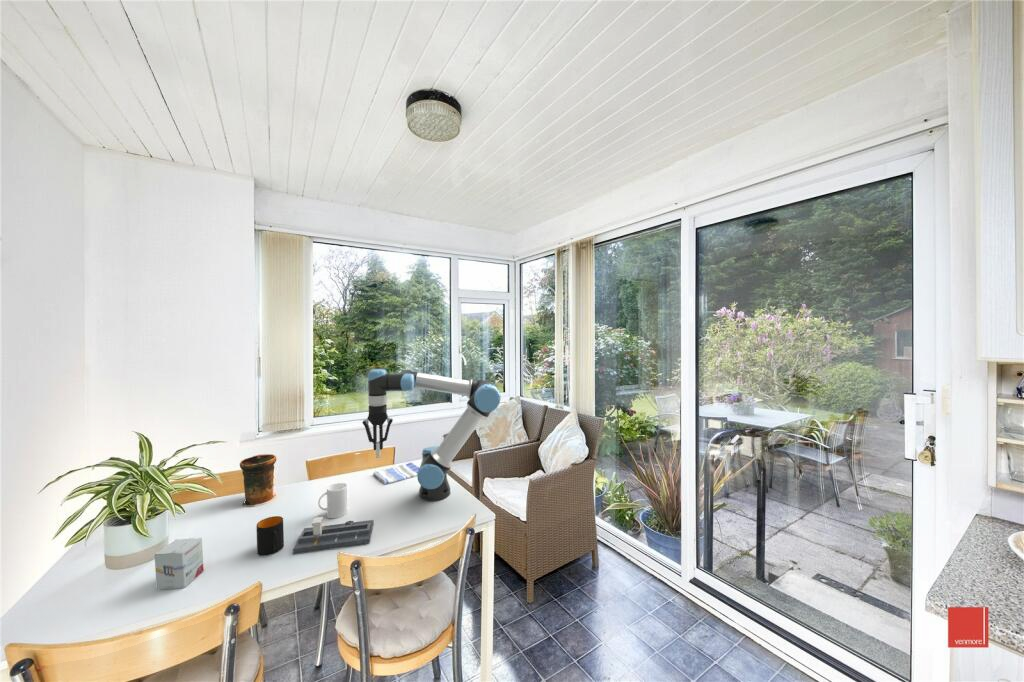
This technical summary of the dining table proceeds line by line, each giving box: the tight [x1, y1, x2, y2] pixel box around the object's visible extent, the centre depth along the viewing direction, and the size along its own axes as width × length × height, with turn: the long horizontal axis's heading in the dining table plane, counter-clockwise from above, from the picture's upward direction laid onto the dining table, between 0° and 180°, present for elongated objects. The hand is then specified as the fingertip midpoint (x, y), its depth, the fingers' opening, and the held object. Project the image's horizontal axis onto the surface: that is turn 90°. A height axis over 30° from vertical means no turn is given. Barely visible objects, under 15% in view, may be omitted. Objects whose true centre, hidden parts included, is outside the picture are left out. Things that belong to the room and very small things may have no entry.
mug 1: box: [256, 515, 285, 557], centre depth 135 cm, size 8×12×10 cm
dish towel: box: [372, 462, 420, 486], centre depth 204 cm, size 17×24×3 cm
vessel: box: [239, 453, 277, 508], centre depth 174 cm, size 14×14×20 cm
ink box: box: [154, 537, 204, 591], centre depth 119 cm, size 9×9×12 cm
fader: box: [311, 516, 324, 535], centre depth 141 cm, size 3×4×6 cm
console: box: [292, 519, 375, 555], centre depth 143 cm, size 26×14×3 cm, turn 104°
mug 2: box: [317, 482, 349, 519], centre depth 161 cm, size 12×8×12 cm
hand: (378, 456), depth 164 cm, fingers closed
